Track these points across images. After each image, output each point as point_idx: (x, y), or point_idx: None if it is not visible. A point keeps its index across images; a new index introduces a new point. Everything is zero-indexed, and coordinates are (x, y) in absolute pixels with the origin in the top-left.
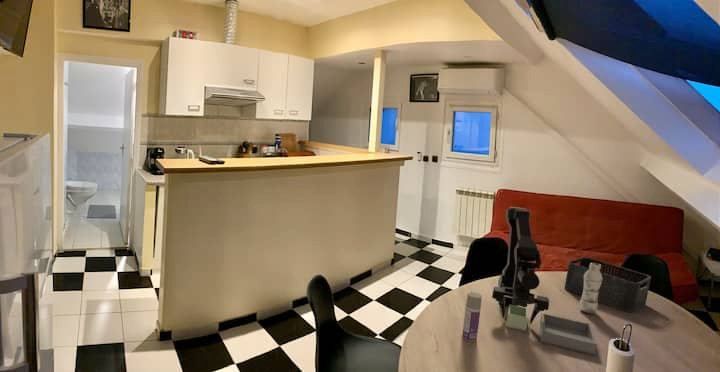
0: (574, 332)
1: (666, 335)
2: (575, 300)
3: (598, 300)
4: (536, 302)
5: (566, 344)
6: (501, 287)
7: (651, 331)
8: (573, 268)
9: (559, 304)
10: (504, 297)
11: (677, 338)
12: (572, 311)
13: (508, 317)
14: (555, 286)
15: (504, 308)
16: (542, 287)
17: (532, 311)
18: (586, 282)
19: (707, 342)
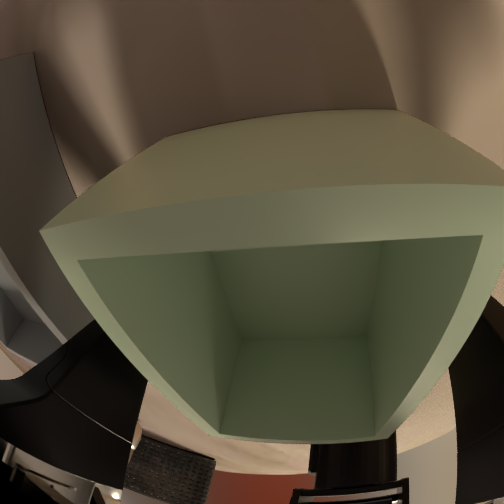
0: (30, 306)
1: (19, 358)
2: (174, 441)
3: (141, 438)
4: (28, 495)
5: None
6: (402, 490)
7: (31, 366)
8: (190, 500)
9: (190, 435)
10: (485, 501)
11: (11, 353)
12: (146, 417)
13: (456, 147)
14: (233, 462)
15: (494, 361)
16: (256, 462)
17: (136, 410)
18: (105, 488)
19: (4, 351)
